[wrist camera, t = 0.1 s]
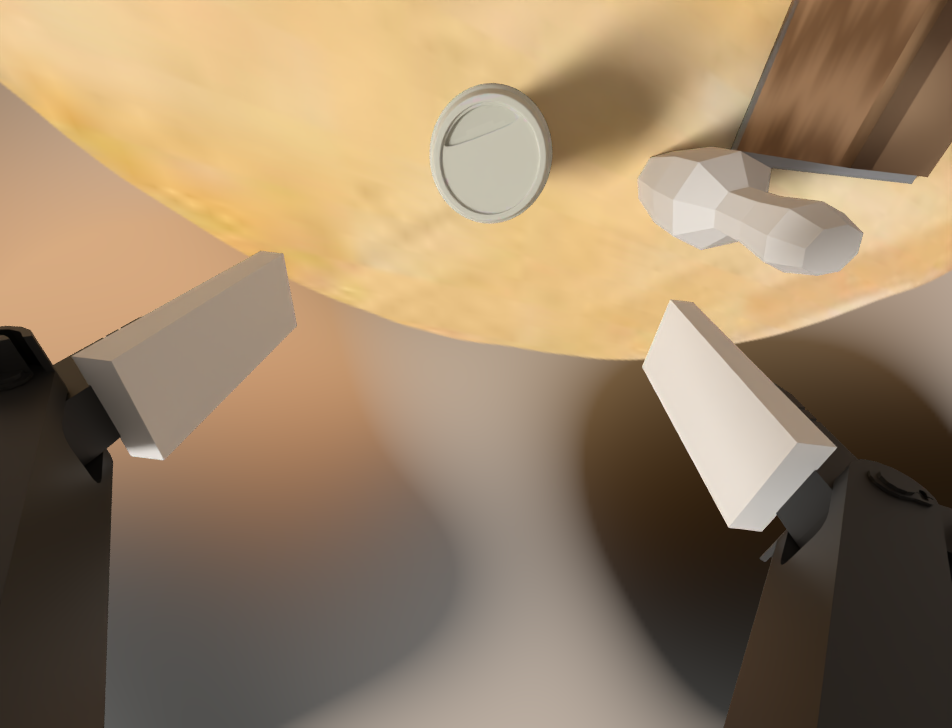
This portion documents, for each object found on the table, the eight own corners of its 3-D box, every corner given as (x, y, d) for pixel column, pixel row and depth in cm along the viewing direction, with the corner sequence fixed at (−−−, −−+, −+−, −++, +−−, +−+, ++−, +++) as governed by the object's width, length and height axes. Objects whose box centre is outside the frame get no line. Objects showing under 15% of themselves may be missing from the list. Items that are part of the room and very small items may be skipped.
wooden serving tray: (827, -85, 26) (1092, -249, 14) (892, -77, 26) (1212, -236, 14) (730, 149, 34) (850, 168, 22) (781, 155, 33) (927, 177, 22)
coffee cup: (554, 107, 33) (575, 104, 23) (524, 208, 37) (530, 242, 27) (458, 78, 32) (437, 62, 22) (440, 185, 37) (415, 211, 27)
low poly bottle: (619, 212, 37) (729, 308, 19) (639, 137, 33) (799, 165, 15) (683, 218, 37) (858, 320, 19) (710, 143, 33) (958, 179, 15)
